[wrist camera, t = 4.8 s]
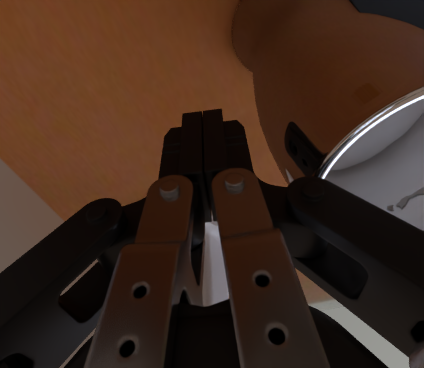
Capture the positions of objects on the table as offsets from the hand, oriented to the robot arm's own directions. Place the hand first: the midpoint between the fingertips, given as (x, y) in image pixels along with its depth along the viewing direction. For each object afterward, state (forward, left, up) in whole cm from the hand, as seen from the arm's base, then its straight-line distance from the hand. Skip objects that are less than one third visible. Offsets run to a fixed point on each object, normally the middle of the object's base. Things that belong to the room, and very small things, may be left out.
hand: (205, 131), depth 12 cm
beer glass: (0, +5, -11) cm, 12 cm away
